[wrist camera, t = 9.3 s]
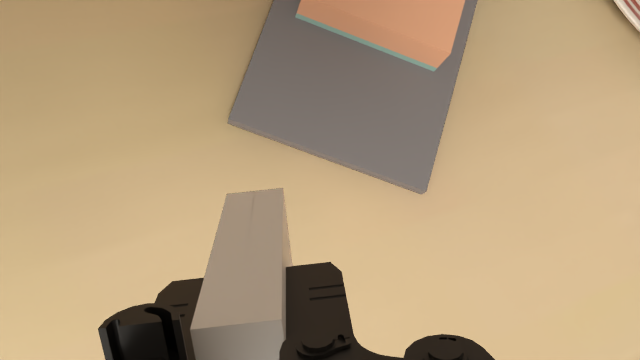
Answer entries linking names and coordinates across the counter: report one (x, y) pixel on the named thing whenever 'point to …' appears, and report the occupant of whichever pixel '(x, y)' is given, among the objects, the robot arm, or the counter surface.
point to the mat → (348, 98)
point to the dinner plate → (630, 11)
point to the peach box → (391, 25)
